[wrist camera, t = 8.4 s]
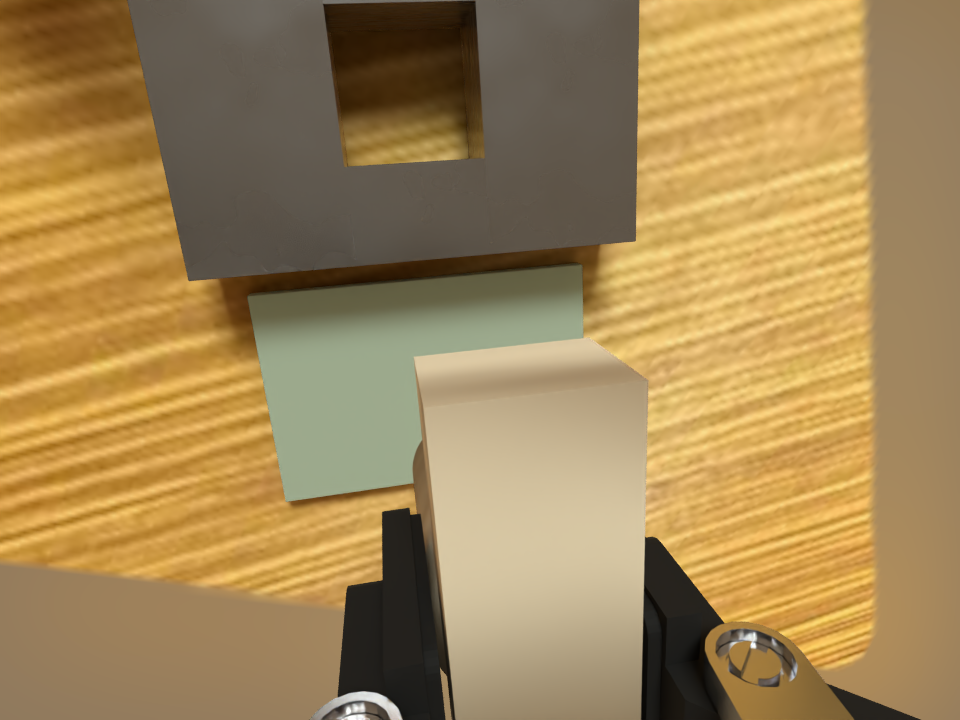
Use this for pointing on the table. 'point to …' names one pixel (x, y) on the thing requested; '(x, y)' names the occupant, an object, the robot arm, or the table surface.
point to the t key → (535, 528)
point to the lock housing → (389, 187)
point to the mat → (386, 362)
